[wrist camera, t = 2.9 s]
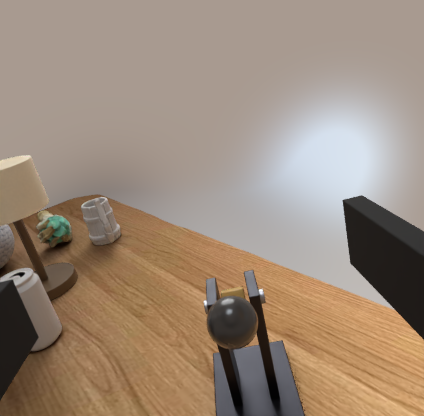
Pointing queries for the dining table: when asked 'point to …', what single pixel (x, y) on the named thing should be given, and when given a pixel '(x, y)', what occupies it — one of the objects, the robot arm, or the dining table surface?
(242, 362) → the switch bracket
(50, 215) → the scepter
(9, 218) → the lamp
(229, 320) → the lamp switch
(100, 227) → the mug
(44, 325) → the beverage can
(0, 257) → the decorative ball
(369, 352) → the dining table surface
